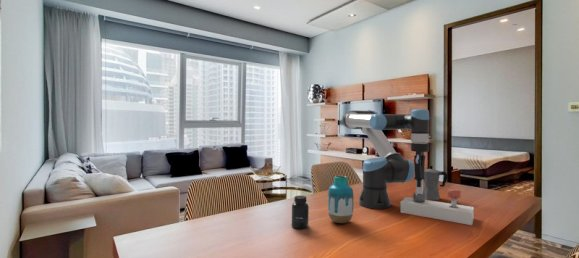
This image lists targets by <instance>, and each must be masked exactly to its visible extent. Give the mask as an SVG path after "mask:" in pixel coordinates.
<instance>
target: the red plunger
mask: <svg viewBox="0 0 579 258" xmlns="http://www.w3.org/2000/svg"><path fill="white" fill-rule="evenodd" d="M447 197H448V198H451V202H450V204H451V208H456V209H457V205H458V204H457V203H458V202H457V200H458V199H461V198H462V191H461V189H459V188H447Z"/></svg>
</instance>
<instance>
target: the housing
mask: <svg viewBox="0 0 579 258" xmlns="http://www.w3.org/2000/svg"><path fill="white" fill-rule="evenodd" d="M474 211H475V209H474V206H468V205H463V204H457V209H456V208H451V202H450V203H449V202H442V201H437V200H428V199H425V202H422V203H418V202H417V201H414V200H413V197H410V196H405V197H404V198H403V199H402V200H401V201H400V213H402V214H408V215H413V216H417V217H418V216H419V217H424V218H425V217H426V218H429V219H436V220H441V221H445V222H446V221H447V222H451V223H452V222H453V223H458V224H463V225H469V226H473V223H474V218H475V217H474V215H475V212H474Z"/></svg>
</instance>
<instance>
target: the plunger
mask: <svg viewBox="0 0 579 258" xmlns="http://www.w3.org/2000/svg"><path fill="white" fill-rule="evenodd" d="M412 196H413V197H412V198H413V200H414V201H417V202H418V203H422V202H425V200H426V199H425V194H416V192H413V194H412Z"/></svg>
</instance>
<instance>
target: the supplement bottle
mask: <svg viewBox="0 0 579 258" xmlns="http://www.w3.org/2000/svg"><path fill="white" fill-rule="evenodd" d="M307 200H308V199H307V196H305V195H295V196H294V201H293V203H292V205H291V227H292V228H293V229H296V230H305V229H308V227H309V219H310V218H309V213H310V212H309V211H310V207H309V204H308V203H307V202H308V201H307Z"/></svg>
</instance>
